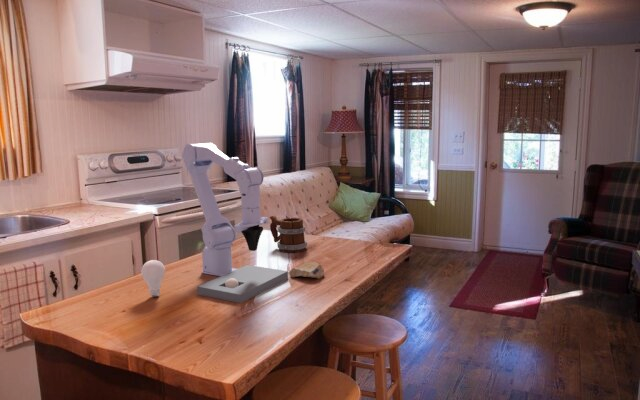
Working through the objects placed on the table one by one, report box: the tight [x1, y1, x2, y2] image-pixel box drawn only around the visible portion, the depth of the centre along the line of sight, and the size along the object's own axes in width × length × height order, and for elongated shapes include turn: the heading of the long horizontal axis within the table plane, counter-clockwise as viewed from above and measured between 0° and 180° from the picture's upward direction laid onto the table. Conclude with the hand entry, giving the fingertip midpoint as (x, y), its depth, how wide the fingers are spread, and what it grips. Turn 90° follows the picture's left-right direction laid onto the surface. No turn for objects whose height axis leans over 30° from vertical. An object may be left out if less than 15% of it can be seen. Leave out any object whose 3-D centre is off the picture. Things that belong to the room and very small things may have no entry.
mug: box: [269, 215, 308, 254], centre depth 198 cm, size 12×14×15 cm
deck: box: [196, 264, 289, 304], centre depth 156 cm, size 16×24×2 cm, turn 150°
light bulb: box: [140, 259, 166, 298], centre depth 148 cm, size 7×7×11 cm
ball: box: [225, 278, 239, 288], centre depth 151 cm, size 4×4×4 cm
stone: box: [288, 261, 325, 280], centre depth 164 cm, size 8×10×4 cm
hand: (252, 250), depth 159 cm, fingers closed
